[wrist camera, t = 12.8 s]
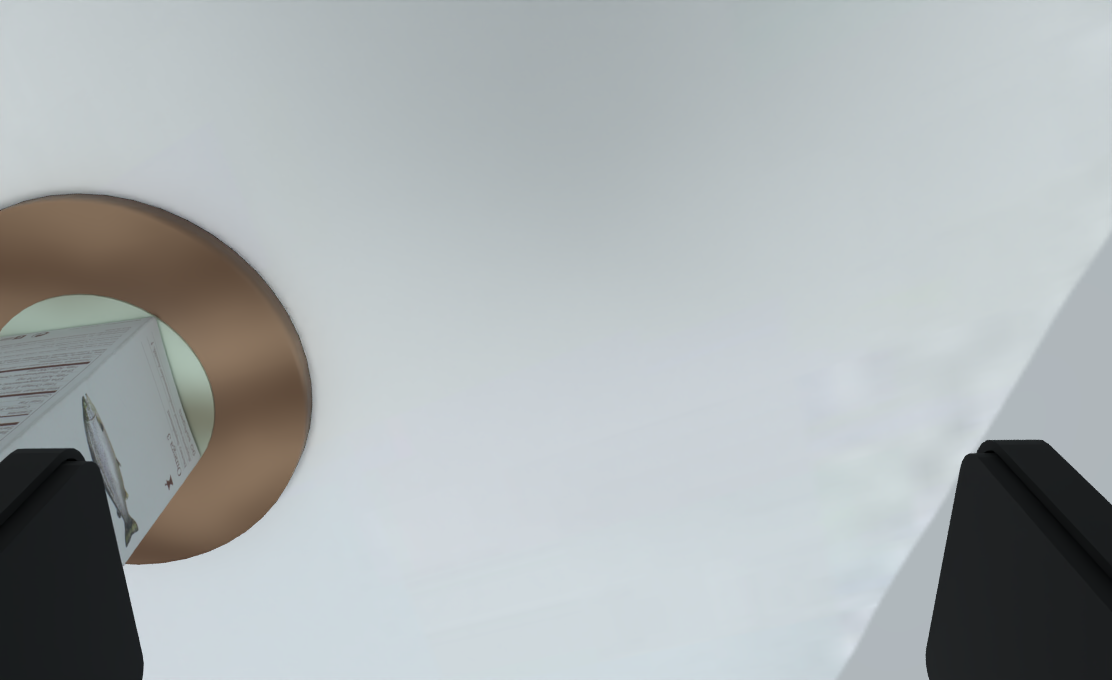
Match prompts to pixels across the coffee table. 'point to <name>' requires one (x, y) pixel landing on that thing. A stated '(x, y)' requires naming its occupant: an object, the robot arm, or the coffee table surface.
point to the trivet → (173, 346)
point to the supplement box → (102, 413)
